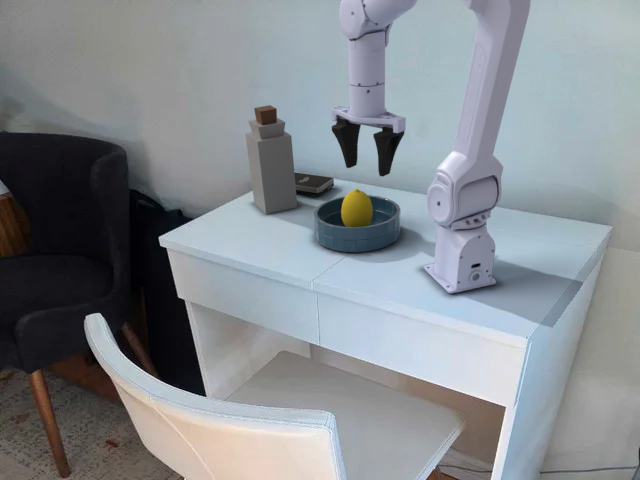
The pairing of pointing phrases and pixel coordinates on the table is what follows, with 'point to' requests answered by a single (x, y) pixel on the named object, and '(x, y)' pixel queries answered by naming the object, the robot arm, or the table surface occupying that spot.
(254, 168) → the perfume bottle
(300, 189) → the external hard drive
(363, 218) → the lemon
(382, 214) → the bowl
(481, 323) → the table surface
